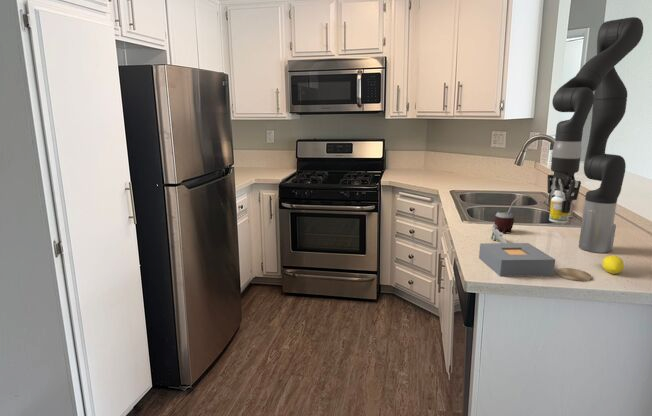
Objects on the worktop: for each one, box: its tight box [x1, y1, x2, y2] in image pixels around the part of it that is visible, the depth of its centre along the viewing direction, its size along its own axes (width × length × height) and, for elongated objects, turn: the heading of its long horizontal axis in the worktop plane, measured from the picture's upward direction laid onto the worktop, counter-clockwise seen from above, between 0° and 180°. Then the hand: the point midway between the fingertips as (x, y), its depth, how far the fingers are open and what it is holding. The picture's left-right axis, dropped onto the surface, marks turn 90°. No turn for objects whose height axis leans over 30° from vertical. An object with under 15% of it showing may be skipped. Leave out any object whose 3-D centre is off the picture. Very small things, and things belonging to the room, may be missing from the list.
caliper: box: [490, 224, 509, 243], centre depth 152 cm, size 20×1×6 cm, turn 1°
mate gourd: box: [494, 197, 521, 235], centre depth 170 cm, size 8×8×15 cm
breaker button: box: [504, 250, 526, 255], centre depth 133 cm, size 6×6×2 cm
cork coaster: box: [555, 267, 592, 282], centre depth 127 cm, size 9×9×1 cm
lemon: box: [601, 254, 625, 275], centre depth 129 cm, size 7×5×5 cm
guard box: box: [478, 242, 556, 277], centre depth 133 cm, size 16×16×5 cm
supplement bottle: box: [548, 190, 570, 224], centre depth 133 cm, size 5×5×10 cm
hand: (559, 210), depth 134 cm, fingers closed on supplement bottle, 5 cm apart
